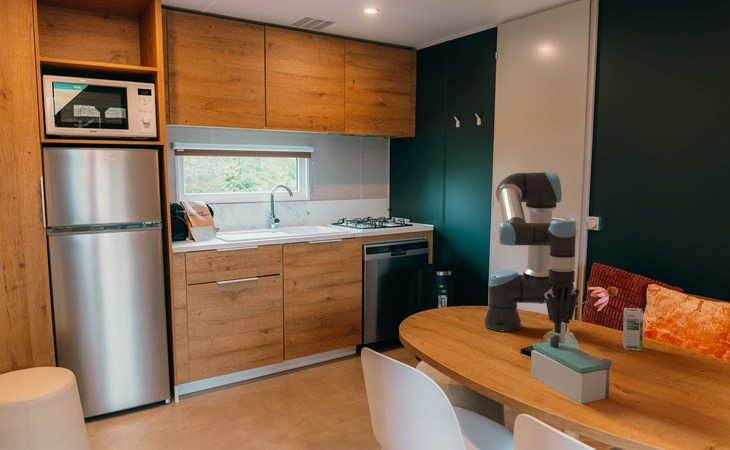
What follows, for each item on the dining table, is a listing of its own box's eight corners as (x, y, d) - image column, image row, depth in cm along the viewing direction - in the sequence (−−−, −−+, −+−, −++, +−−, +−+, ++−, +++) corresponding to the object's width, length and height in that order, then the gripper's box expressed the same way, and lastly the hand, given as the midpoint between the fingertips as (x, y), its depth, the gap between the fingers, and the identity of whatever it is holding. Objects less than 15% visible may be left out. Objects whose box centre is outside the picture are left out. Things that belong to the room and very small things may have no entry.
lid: (560, 343, 171) (561, 329, 170) (613, 368, 150) (614, 352, 149) (532, 347, 167) (532, 333, 167) (582, 373, 146) (582, 357, 146)
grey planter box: (557, 371, 171) (557, 345, 170) (610, 397, 151) (611, 369, 150) (530, 376, 167) (531, 350, 166) (581, 404, 147) (582, 375, 146)
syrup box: (624, 349, 190) (626, 311, 188) (622, 344, 195) (623, 306, 193) (642, 351, 188) (643, 312, 186) (639, 346, 193) (641, 308, 192)
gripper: (569, 265, 168) (567, 336, 171) (537, 269, 163) (535, 341, 166) (587, 269, 161) (585, 342, 164) (554, 273, 157) (552, 349, 159)
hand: (560, 342), depth 165 cm, fingers closed
